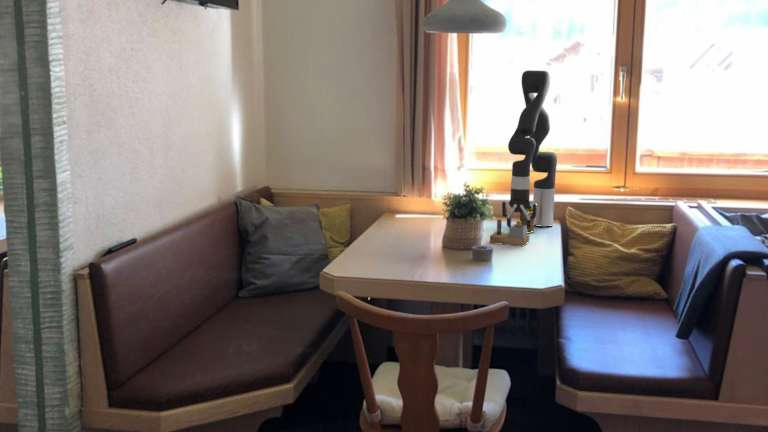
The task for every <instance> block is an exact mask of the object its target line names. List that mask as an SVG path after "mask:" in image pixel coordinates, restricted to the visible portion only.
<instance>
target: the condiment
mask: <svg viewBox="0 0 768 432" xmlns="http://www.w3.org/2000/svg"><path fill="white" fill-rule="evenodd" d="M528 211H529V213H530V215H531V216H532V211H533V209H532V208H531V206H529V208H528ZM527 220H528V219H527V217H526V215H525V214H524V213H520V212H519V221H521V225H527ZM534 227H535V226H534V219H532V220H531V227H530V228H529V229H528V230H527V232H531V231H534Z"/></svg>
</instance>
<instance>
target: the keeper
mask: <svg viewBox="0 0 768 432" xmlns="http://www.w3.org/2000/svg"><path fill="white" fill-rule="evenodd" d="M502 221H503V220H502V219H500V218H499V219H498V218H497V219H496V231H495V232H493V233H492V234H491V235H489V244H495V243H502V244H501V245H506V244H513V245H512V246H517V245H525V244H526V243H527V242H528V241H529V242H530V234H527V235H526V236H525V237H524V238H513V237H509V232H503V231H502V226H503V225H502ZM516 224H517V226H516V227H518V228H521V221H520V220H516ZM529 242H528V243H529ZM528 243H527V244H528ZM527 244H526V245H527ZM526 245H525V246H526Z"/></svg>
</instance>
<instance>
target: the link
mask: <svg viewBox="0 0 768 432" xmlns="http://www.w3.org/2000/svg"><path fill="white" fill-rule="evenodd" d="M516 226H517V223H514V224H511V227H509V228H508V229H509V232H508V233H509V237H513V238H524V237H525V236H526V235H528V234H527V230H528V229H527V225H521V228H518V227H516Z"/></svg>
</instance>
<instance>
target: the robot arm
mask: <svg viewBox="0 0 768 432" xmlns="http://www.w3.org/2000/svg"><path fill="white" fill-rule="evenodd" d="M550 85H551V76H550V73H549V71H547V70H525V71H524V72H523V73H522V75H521V88H522V94H523V98H524V103H525V107H524V108H523V110H522V111H521V112H520V116H519V119H518V124H517V127H516V129H515V130H514V132H513V134H512V136H511V137H510V139H509V141H508V145H507V149H508V151H509V153H510V154H511V155H515V156H516V155H518V156H524V157H523V159H519V160H515V161H513V162H512V166H511V181H510V200H509V201H506V200H504V201H502V202H501V203H502V205H501V211H502V214H501V216H502V217H503V218H504V217H505V218H506V226H507V228H508V229H509V227H511V226H512V215H514V213H519V214H520V213H524V214H525V215H526V217H527V219H528V220H527V229H529V228H530V227H531V220H532V219H534V225H541V226H549V225H553V226H554V212H555V211H554V210H555V192H556V191H555V188H556V174H557V163H558V157H557V154H556V153H555V152H553V151H540V146H541V144H542V143H543V141H544V140H545V139H546V138H547V136H548V135H549V132H550V130H551V125H550V116H549V113H548V112H547V110H546V109H545V108H544V107H543V105H544V102H545V101H546V97H547V95H548V92H549V89H550ZM535 94H536V95H535ZM531 169H532V171H533V172H535V173H543V174H545V173H546V176H545V177H543V178H542V179H541V178H540V179H537V180H534V182H533V192H532V193H533V195H532V196H533V197H532V199H533V200H532V203H531V201H530V195H531V194H530V193H531V190H530V189H531V178H530V177H531V176H530V175H531ZM508 206H509V207H510V208H511V209H510V211H509V212H507V211H508ZM529 206H531V208H532V209H533V211H532V216H531V215H530V213H529V211H528V208H529Z"/></svg>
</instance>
